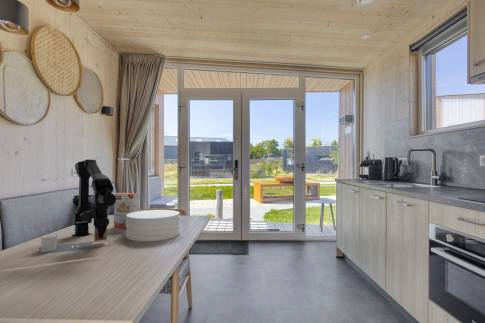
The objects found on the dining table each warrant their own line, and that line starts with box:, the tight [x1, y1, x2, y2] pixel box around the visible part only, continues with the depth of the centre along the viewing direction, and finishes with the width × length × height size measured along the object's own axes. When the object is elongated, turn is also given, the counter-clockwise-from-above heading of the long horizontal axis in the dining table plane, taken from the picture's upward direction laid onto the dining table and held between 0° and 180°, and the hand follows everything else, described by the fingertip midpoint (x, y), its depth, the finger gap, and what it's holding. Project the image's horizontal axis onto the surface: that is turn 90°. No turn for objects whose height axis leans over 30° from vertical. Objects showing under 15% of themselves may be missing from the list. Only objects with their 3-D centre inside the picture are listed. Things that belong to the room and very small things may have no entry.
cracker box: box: [113, 192, 140, 229], centre depth 168 cm, size 14×6×21 cm, turn 73°
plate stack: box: [125, 209, 181, 242], centre depth 151 cm, size 28×28×12 cm
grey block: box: [40, 233, 58, 252], centre depth 120 cm, size 5×5×6 cm
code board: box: [35, 239, 111, 256], centre depth 124 cm, size 28×12×1 cm, turn 119°
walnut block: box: [93, 226, 108, 241], centre depth 129 cm, size 5×5×6 cm
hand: (100, 236), depth 129 cm, fingers closed on walnut block, 5 cm apart
